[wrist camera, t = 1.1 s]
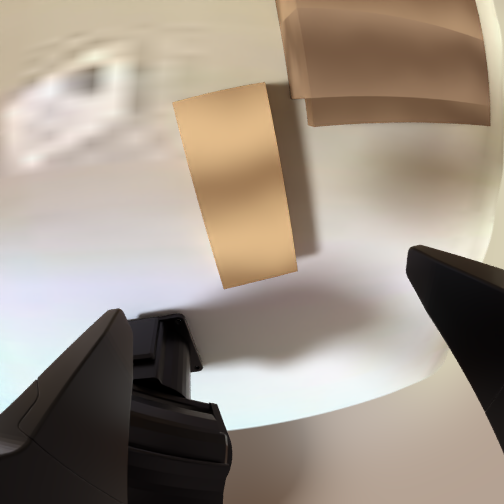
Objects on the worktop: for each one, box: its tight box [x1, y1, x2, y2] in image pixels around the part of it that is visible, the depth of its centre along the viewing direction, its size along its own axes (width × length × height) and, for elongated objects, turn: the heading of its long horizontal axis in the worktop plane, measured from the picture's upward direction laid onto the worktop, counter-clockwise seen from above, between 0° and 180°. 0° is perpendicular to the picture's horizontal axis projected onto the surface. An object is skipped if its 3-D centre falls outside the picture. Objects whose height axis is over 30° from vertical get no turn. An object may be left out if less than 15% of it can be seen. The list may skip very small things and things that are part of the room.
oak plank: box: [173, 82, 298, 289], centre depth 18 cm, size 12×5×2 cm, turn 11°
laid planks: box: [275, 0, 490, 127], centre depth 13 cm, size 12×14×4 cm
